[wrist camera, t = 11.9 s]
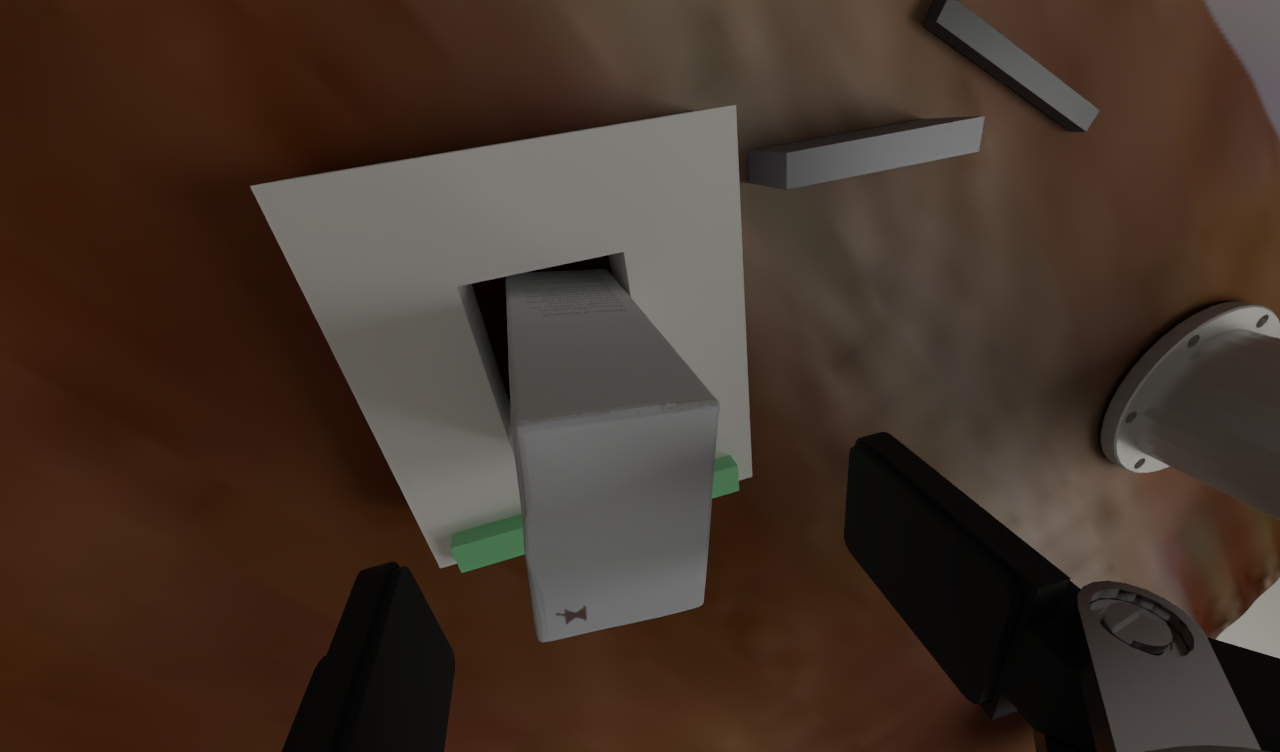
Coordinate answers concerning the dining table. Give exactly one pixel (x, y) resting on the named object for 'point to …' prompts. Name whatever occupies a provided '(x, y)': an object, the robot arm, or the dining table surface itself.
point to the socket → (502, 246)
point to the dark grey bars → (925, 135)
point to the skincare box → (605, 455)
